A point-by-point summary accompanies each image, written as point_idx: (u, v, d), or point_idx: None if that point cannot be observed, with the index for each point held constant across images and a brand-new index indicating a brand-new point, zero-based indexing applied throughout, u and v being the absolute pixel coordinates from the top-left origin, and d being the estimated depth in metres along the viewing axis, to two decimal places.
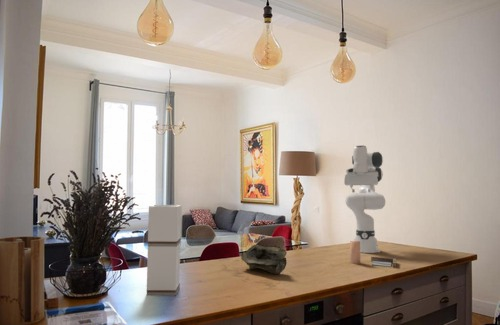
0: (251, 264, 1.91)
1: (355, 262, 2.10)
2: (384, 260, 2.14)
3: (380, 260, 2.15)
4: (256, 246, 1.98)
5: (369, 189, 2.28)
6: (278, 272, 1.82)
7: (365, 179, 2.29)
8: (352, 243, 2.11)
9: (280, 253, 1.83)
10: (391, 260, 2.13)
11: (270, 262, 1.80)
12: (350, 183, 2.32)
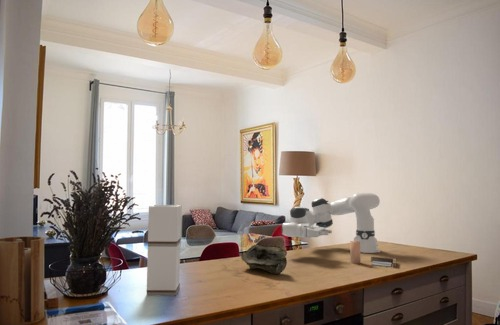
0: (251, 264, 1.91)
1: (355, 262, 2.10)
2: (384, 260, 2.14)
3: (380, 260, 2.15)
4: (256, 246, 1.98)
5: (328, 230, 2.24)
6: (278, 272, 1.82)
7: (318, 228, 2.25)
8: (352, 243, 2.11)
9: (280, 253, 1.84)
10: (391, 260, 2.13)
11: (270, 262, 1.81)
12: (318, 230, 2.16)
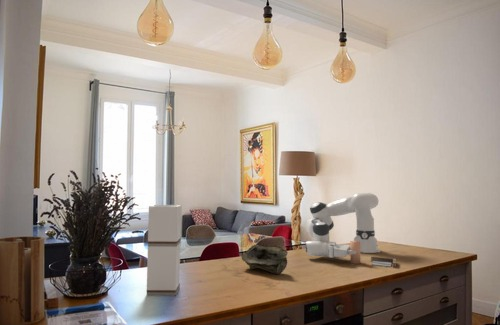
0: (251, 264, 1.91)
1: (355, 262, 2.10)
2: (384, 260, 2.14)
3: (380, 260, 2.15)
4: (256, 246, 1.98)
5: None
6: (279, 272, 1.83)
7: (343, 246, 2.18)
8: (352, 243, 2.11)
9: (281, 253, 1.84)
10: (391, 260, 2.13)
11: (271, 262, 1.81)
12: (345, 249, 2.09)
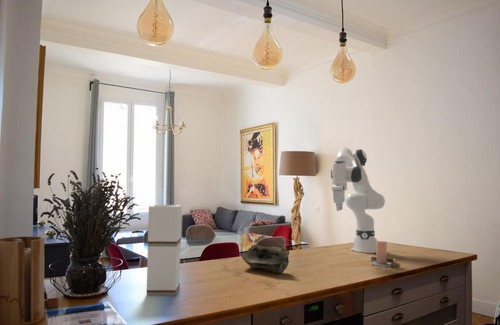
0: (252, 264, 1.92)
1: (381, 263, 2.07)
2: None
3: None
4: (256, 246, 1.99)
5: None
6: (281, 271, 1.84)
7: (343, 197, 2.27)
8: (378, 243, 2.08)
9: (283, 252, 1.85)
10: (391, 260, 2.13)
11: (273, 261, 1.82)
12: (340, 201, 2.18)
